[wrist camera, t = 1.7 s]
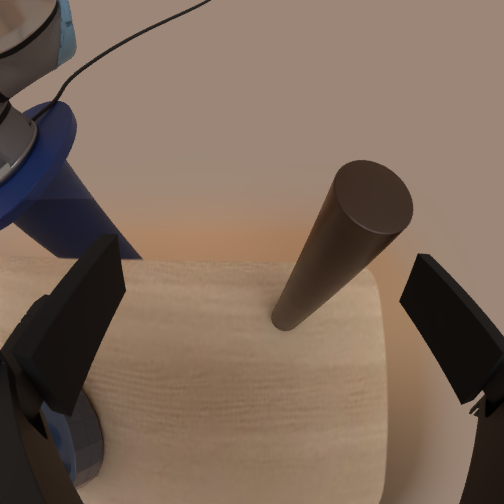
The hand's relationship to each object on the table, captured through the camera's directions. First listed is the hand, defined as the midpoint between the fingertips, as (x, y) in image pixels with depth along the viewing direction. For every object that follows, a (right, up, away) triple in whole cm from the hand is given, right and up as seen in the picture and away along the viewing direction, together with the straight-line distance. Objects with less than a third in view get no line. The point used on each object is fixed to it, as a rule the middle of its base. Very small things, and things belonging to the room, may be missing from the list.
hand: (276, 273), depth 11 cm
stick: (+2, -5, +14) cm, 16 cm away
